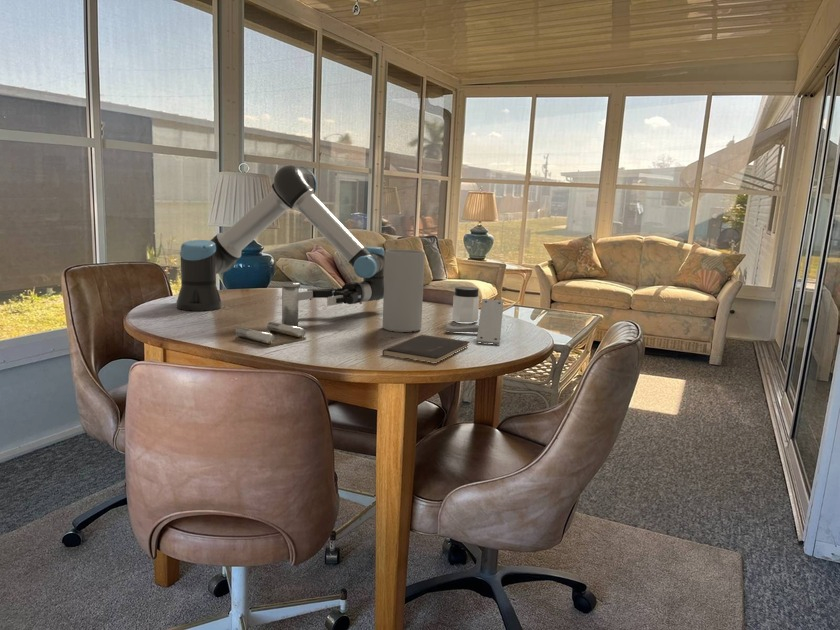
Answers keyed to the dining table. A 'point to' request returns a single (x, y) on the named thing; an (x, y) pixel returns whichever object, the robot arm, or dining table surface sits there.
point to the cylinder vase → (403, 290)
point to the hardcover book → (426, 348)
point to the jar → (465, 304)
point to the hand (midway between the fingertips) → (312, 298)
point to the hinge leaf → (271, 335)
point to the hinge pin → (290, 303)
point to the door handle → (485, 322)
